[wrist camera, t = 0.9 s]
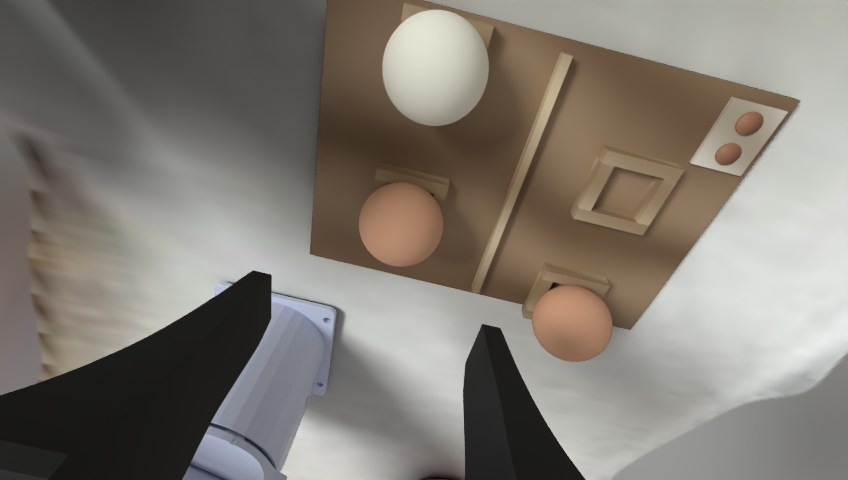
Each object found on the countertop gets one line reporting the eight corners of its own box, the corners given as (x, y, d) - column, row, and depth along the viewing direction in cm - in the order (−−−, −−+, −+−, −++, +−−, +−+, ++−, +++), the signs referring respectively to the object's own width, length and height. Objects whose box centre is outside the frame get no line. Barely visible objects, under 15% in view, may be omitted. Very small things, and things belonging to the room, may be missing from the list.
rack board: (625, 328, 24) (632, 343, 23) (311, 254, 24) (304, 265, 23) (793, 98, 16) (814, 105, 16) (331, -24, 16) (322, -25, 15)
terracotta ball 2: (581, 329, 24) (599, 385, 20) (518, 314, 24) (526, 368, 20) (613, 279, 21) (639, 333, 18) (543, 262, 21) (557, 314, 18)
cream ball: (471, 120, 18) (471, 151, 14) (384, 98, 17) (364, 124, 14) (499, 21, 15) (508, 30, 12) (401, -5, 15) (381, -3, 12)
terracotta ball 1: (435, 244, 21) (429, 292, 18) (364, 227, 21) (344, 272, 18) (454, 179, 19) (450, 220, 16) (374, 160, 19) (354, 196, 16)
